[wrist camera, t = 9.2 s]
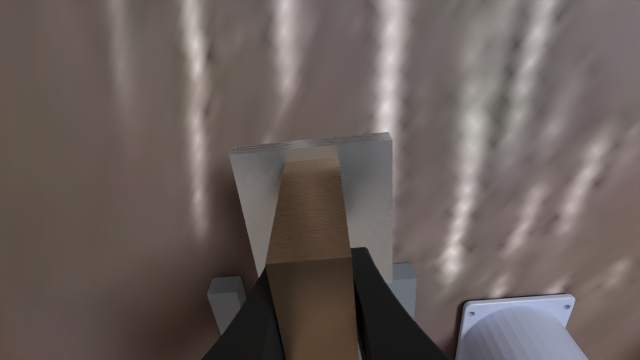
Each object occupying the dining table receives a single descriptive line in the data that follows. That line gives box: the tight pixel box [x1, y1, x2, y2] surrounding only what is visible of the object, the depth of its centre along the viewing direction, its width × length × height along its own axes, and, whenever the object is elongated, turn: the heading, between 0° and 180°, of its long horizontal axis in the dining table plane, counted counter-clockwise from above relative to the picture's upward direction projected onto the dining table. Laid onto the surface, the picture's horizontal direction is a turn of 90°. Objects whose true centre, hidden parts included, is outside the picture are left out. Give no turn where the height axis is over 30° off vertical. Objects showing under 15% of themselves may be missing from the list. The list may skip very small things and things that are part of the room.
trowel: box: [229, 132, 393, 360], centre depth 12 cm, size 6×7×6 cm
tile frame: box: [207, 263, 417, 360], centre depth 26 cm, size 11×14×2 cm
